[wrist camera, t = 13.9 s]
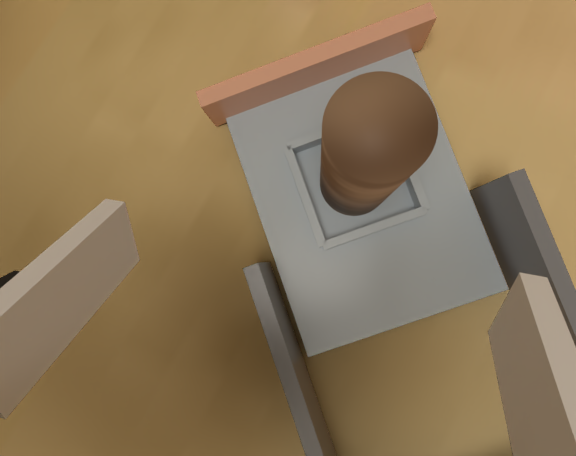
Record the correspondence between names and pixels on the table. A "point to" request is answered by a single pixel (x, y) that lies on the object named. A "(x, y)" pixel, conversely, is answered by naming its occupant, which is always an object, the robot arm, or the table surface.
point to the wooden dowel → (374, 140)
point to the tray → (342, 228)
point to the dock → (510, 254)
